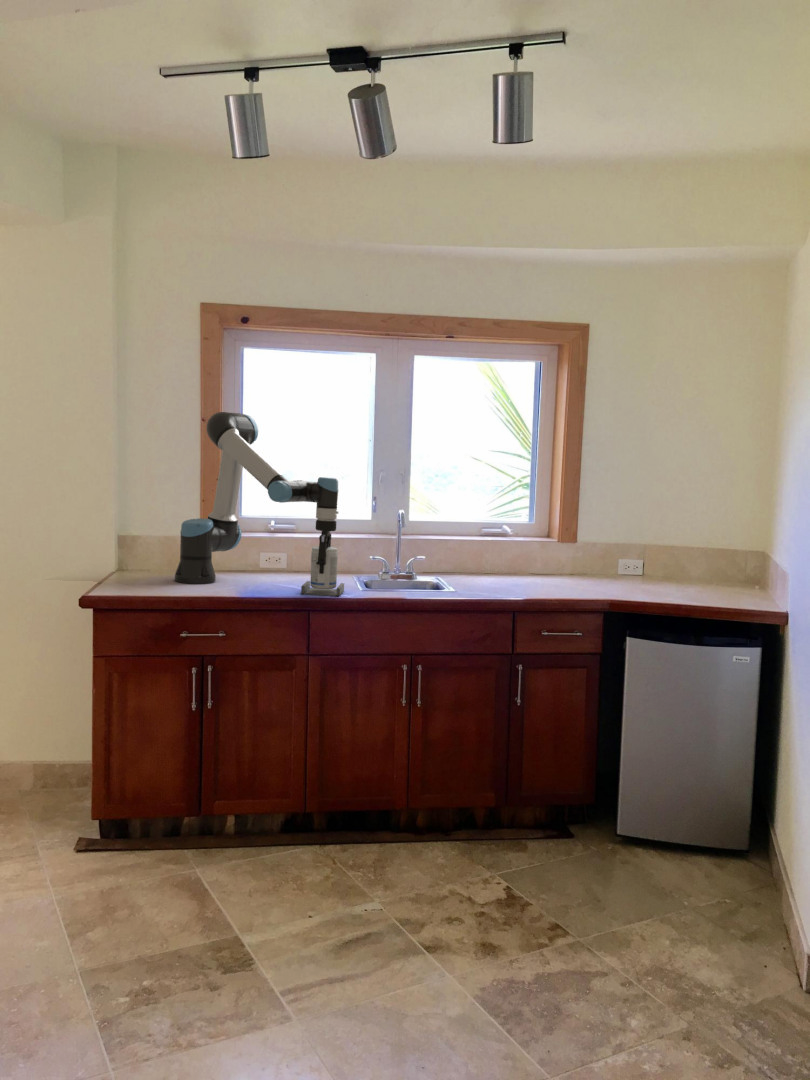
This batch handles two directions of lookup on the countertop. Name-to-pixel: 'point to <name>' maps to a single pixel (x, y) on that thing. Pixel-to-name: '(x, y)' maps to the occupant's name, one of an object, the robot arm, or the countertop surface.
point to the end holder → (321, 590)
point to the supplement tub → (330, 568)
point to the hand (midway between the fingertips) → (323, 580)
